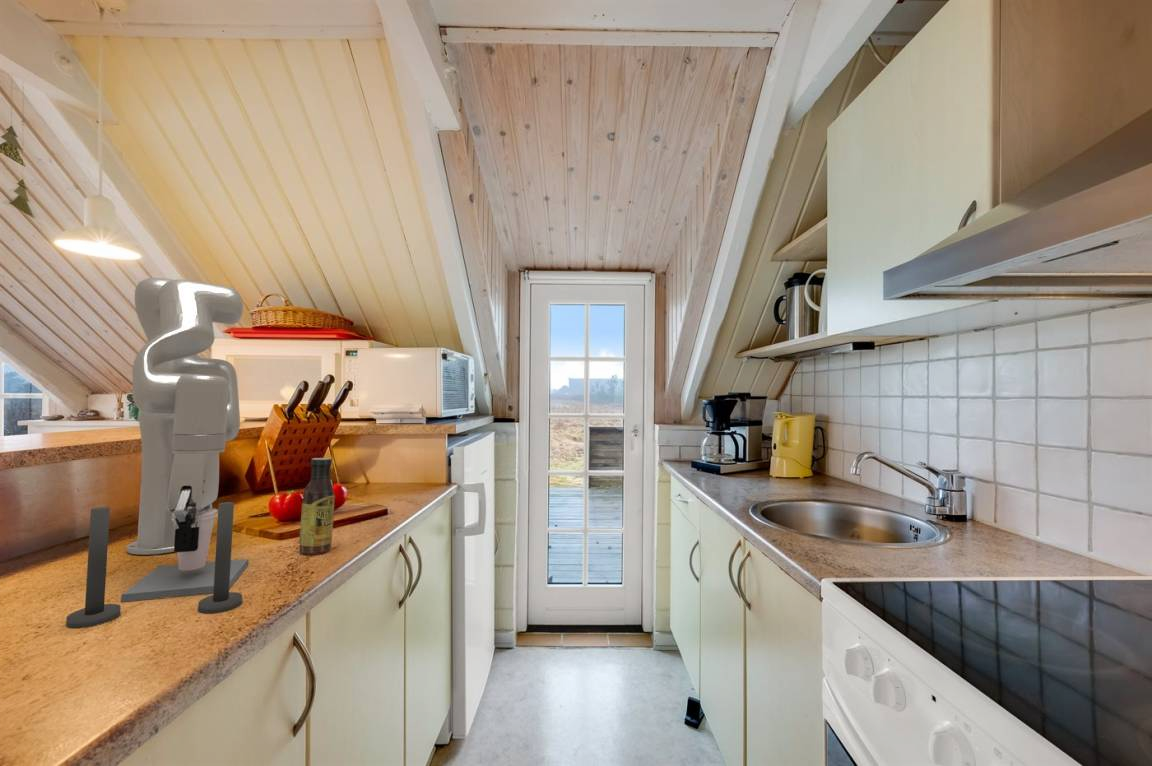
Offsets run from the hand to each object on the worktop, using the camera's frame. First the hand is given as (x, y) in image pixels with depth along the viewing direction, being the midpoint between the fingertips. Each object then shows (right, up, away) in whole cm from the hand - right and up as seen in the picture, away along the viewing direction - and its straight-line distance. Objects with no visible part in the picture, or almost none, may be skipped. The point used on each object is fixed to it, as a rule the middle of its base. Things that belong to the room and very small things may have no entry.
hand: (193, 544), depth 86 cm
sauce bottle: (+12, -8, +18) cm, 23 cm away
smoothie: (0, -4, 0) cm, 4 cm away
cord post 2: (+12, -6, -10) cm, 17 cm away
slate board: (0, -6, 0) cm, 6 cm away
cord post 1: (-2, -6, -15) cm, 17 cm away
